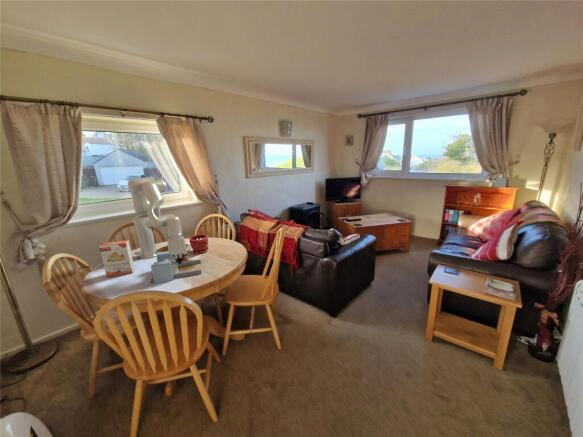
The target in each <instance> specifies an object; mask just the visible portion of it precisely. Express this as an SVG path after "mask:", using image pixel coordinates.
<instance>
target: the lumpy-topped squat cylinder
mask: <svg viewBox="0 0 583 437" xmlns="http://www.w3.org/2000/svg"><path fill="white" fill-rule="evenodd" d="M166 260H168V259H165V260H163V261H166ZM169 262H171V267H172V273H173V274H177V273H180V272H179V267H178V265H177V260H175V261H174V260H169Z"/></svg>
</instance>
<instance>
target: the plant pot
mask: <svg viewBox="0 0 583 437" xmlns="http://www.w3.org/2000/svg"><path fill="white" fill-rule="evenodd" d="M189 245H190V247H191V249H192V253H194V254H204V253H206V252H207V251H208V250H209V237H208V235H207V234H197V235H193V236H190V237H189Z"/></svg>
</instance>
